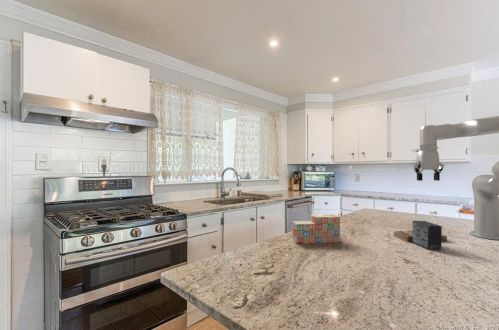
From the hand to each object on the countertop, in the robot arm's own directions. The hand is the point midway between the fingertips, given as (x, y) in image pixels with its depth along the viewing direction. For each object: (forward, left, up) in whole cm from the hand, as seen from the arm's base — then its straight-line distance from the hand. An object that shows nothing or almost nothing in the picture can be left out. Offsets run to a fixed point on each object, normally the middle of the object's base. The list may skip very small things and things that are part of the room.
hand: (428, 180), depth 134 cm
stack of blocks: (+65, +9, -29) cm, 71 cm away
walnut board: (+12, +9, -28) cm, 32 cm away
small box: (+17, +20, -29) cm, 39 cm away
